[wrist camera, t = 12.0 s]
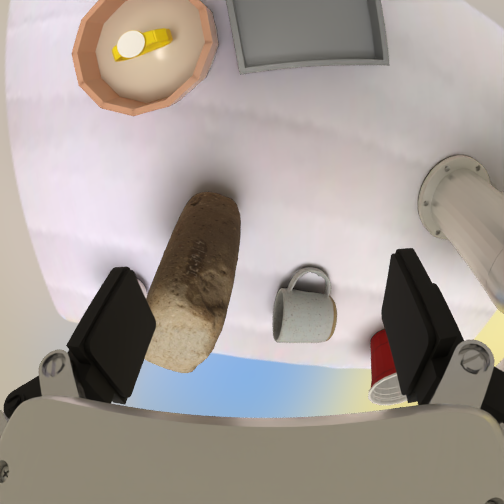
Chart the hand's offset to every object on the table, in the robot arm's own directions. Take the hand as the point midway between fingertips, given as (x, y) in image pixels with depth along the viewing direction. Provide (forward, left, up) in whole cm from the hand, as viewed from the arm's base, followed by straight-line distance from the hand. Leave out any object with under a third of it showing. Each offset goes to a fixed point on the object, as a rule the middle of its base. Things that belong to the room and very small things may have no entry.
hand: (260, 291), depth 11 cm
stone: (+9, +11, -26) cm, 30 cm away
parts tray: (-6, -12, -26) cm, 29 cm away
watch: (+10, -12, -25) cm, 30 cm away
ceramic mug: (-3, +25, -26) cm, 36 cm away
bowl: (+10, -12, -26) cm, 30 cm away
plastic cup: (-17, +39, -26) cm, 50 cm away
